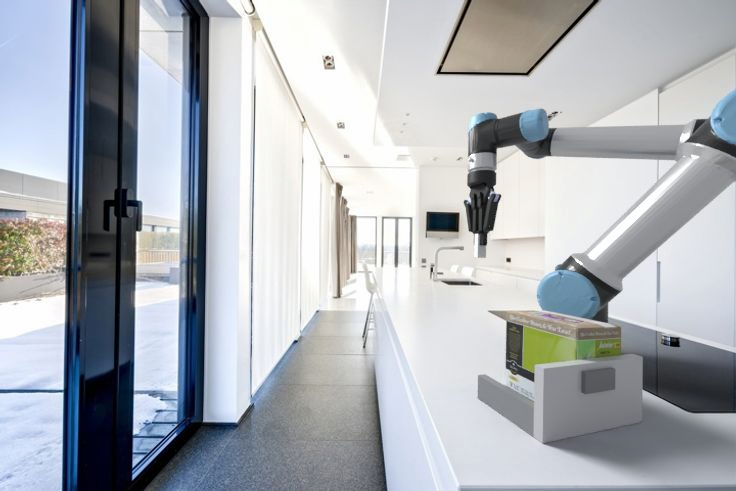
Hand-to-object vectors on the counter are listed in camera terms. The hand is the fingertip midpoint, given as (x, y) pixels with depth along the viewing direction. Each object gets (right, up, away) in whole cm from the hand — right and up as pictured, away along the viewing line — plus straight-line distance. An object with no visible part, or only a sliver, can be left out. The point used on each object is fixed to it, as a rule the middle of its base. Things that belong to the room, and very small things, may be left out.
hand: (480, 257), depth 86 cm
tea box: (+2, -24, -31) cm, 39 cm away
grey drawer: (0, -24, -34) cm, 41 cm away
